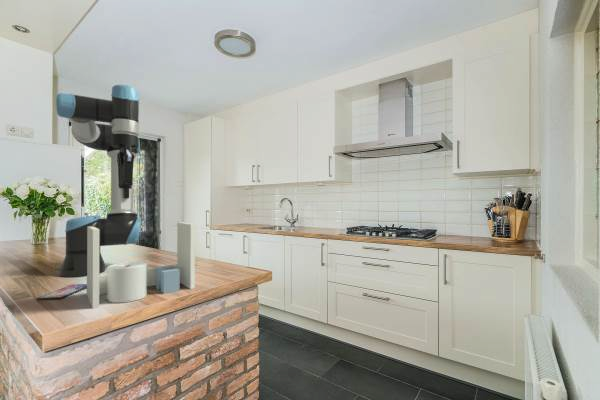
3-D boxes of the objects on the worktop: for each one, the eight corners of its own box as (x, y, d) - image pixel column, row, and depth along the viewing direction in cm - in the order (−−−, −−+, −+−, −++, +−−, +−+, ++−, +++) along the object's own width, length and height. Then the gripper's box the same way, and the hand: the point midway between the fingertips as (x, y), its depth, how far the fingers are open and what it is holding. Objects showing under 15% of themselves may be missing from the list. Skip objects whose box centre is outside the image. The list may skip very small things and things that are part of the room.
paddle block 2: (160, 291, 98) (160, 270, 98) (176, 288, 102) (176, 268, 102) (163, 294, 96) (163, 272, 96) (179, 290, 99) (179, 270, 99)
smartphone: (35, 298, 90) (71, 284, 105) (35, 301, 90) (71, 287, 105) (61, 297, 90) (93, 283, 105) (61, 300, 90) (93, 286, 105)
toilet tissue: (106, 305, 85) (106, 270, 85) (107, 294, 96) (107, 263, 96) (148, 299, 91) (148, 266, 91) (144, 289, 101) (144, 259, 101)
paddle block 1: (156, 288, 103) (156, 267, 103) (171, 285, 106) (171, 265, 106) (158, 290, 100) (158, 269, 100) (173, 287, 104) (174, 267, 104)
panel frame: (86, 295, 94) (86, 226, 94) (180, 279, 113) (180, 221, 113) (92, 308, 83) (93, 229, 83) (194, 288, 102) (195, 224, 102)
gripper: (108, 137, 98) (108, 209, 97) (115, 129, 88) (115, 209, 88) (133, 140, 103) (133, 208, 102) (143, 133, 93) (143, 208, 92)
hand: (125, 208), depth 95 cm, fingers closed
